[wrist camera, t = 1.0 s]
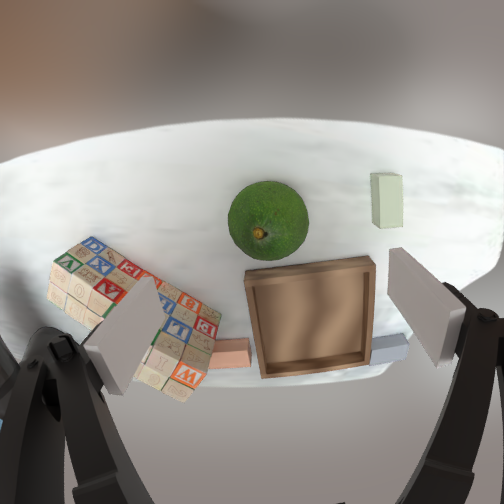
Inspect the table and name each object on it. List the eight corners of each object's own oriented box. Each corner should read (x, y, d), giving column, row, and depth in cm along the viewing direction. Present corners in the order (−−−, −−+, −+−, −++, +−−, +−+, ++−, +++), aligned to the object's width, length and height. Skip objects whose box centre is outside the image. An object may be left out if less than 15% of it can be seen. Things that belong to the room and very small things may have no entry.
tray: (261, 365, 42) (261, 378, 39) (245, 270, 37) (243, 281, 34) (364, 351, 40) (369, 364, 38) (368, 255, 35) (375, 264, 33)
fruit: (279, 163, 32) (285, 170, 21) (315, 220, 34) (337, 256, 23) (221, 200, 34) (198, 227, 23) (259, 254, 36) (254, 303, 25)
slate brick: (364, 353, 41) (369, 365, 38) (366, 338, 40) (372, 350, 37) (399, 347, 40) (405, 359, 38) (402, 332, 39) (409, 343, 37)
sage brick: (393, 220, 34) (402, 226, 31) (371, 222, 34) (380, 229, 31) (391, 172, 32) (402, 175, 29) (369, 173, 32) (378, 176, 29)
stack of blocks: (81, 269, 39) (31, 309, 27) (91, 234, 37) (36, 269, 25) (203, 343, 41) (184, 405, 30) (223, 313, 39) (207, 375, 28)
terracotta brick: (212, 356, 42) (208, 368, 39) (207, 340, 41) (203, 353, 38) (251, 353, 42) (250, 366, 39) (248, 337, 41) (247, 350, 38)
